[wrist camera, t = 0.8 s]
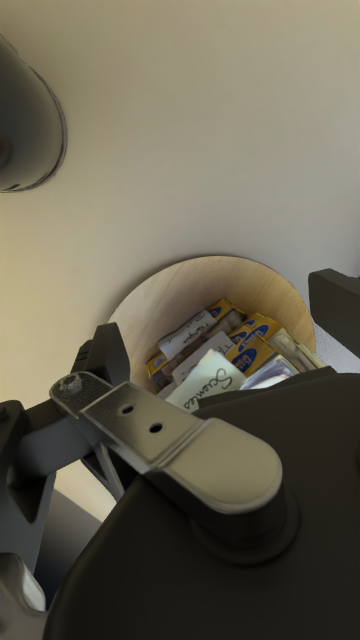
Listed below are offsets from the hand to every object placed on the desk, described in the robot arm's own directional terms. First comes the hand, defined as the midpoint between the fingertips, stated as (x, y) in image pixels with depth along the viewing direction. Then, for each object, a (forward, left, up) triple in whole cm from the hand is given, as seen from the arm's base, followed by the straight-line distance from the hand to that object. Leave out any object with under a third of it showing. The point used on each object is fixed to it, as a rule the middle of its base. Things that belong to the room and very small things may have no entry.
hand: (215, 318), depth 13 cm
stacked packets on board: (+14, 0, -20) cm, 24 cm away
